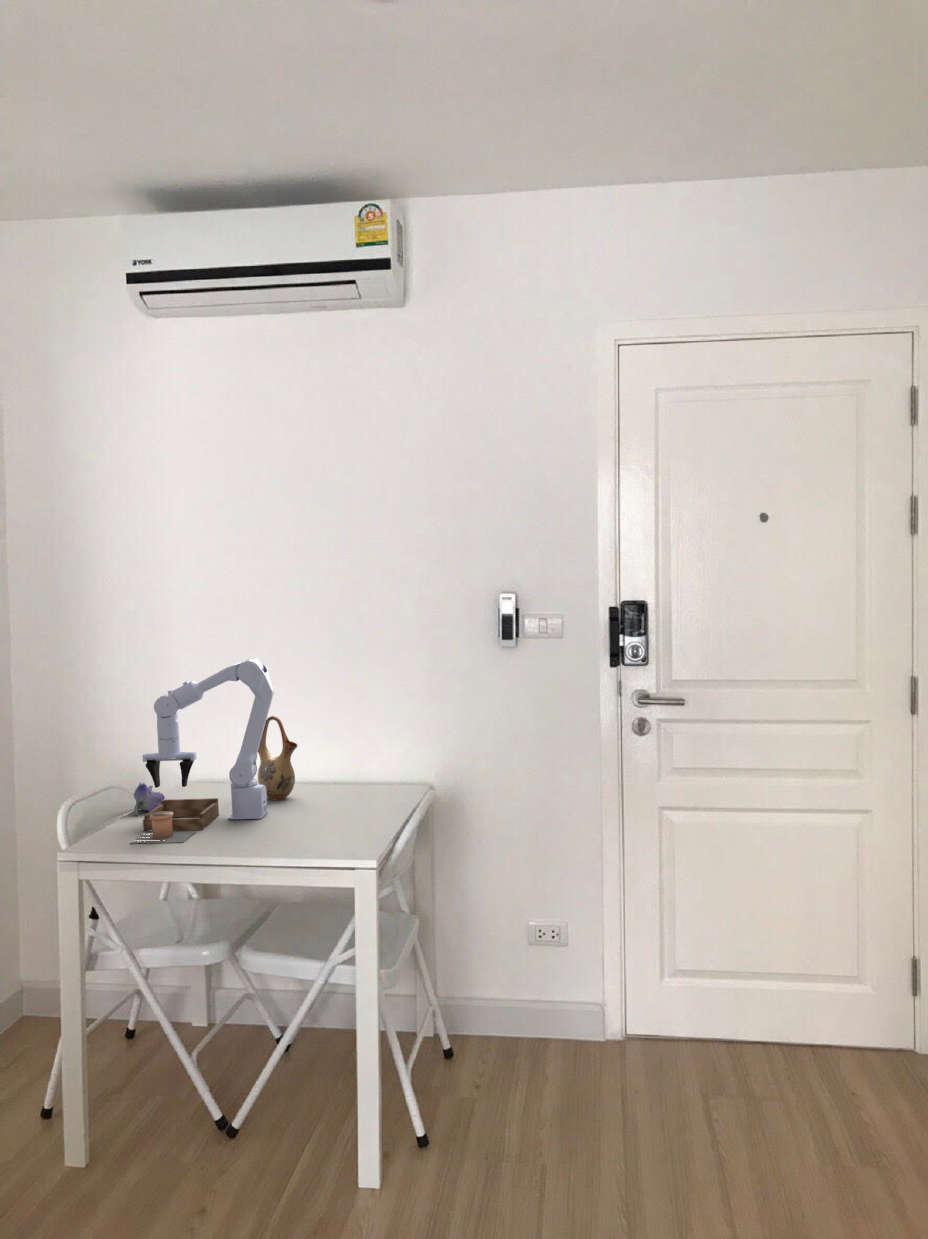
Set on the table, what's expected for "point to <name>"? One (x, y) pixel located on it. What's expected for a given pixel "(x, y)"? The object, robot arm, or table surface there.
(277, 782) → the ceramic vessel
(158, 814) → the terracotta pot
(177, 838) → the slate mat
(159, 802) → the flower
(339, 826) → the table surface
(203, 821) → the frame
